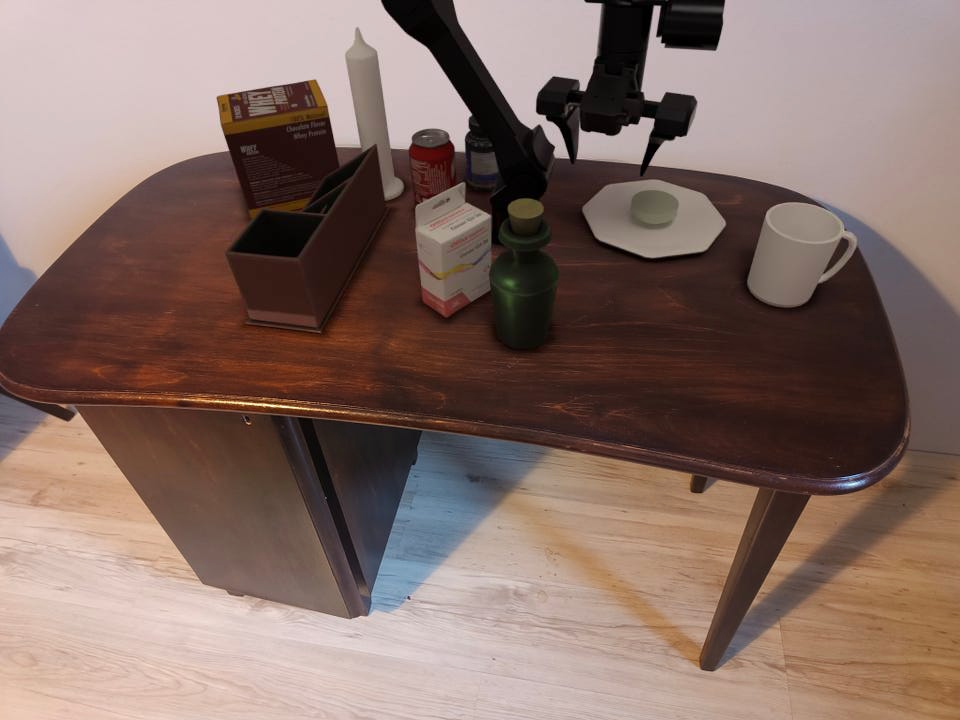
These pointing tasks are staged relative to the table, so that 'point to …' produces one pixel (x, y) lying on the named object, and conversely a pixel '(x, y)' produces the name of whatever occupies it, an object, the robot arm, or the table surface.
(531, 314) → the potion bottle
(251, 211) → the supplement box
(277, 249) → the desk organizer
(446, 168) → the soda can
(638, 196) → the green cylinder
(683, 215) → the plate
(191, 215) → the table surface
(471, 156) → the pill bottle
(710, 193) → the table surface
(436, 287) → the ink cartridge box
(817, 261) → the mug
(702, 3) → the robot arm
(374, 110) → the candle
